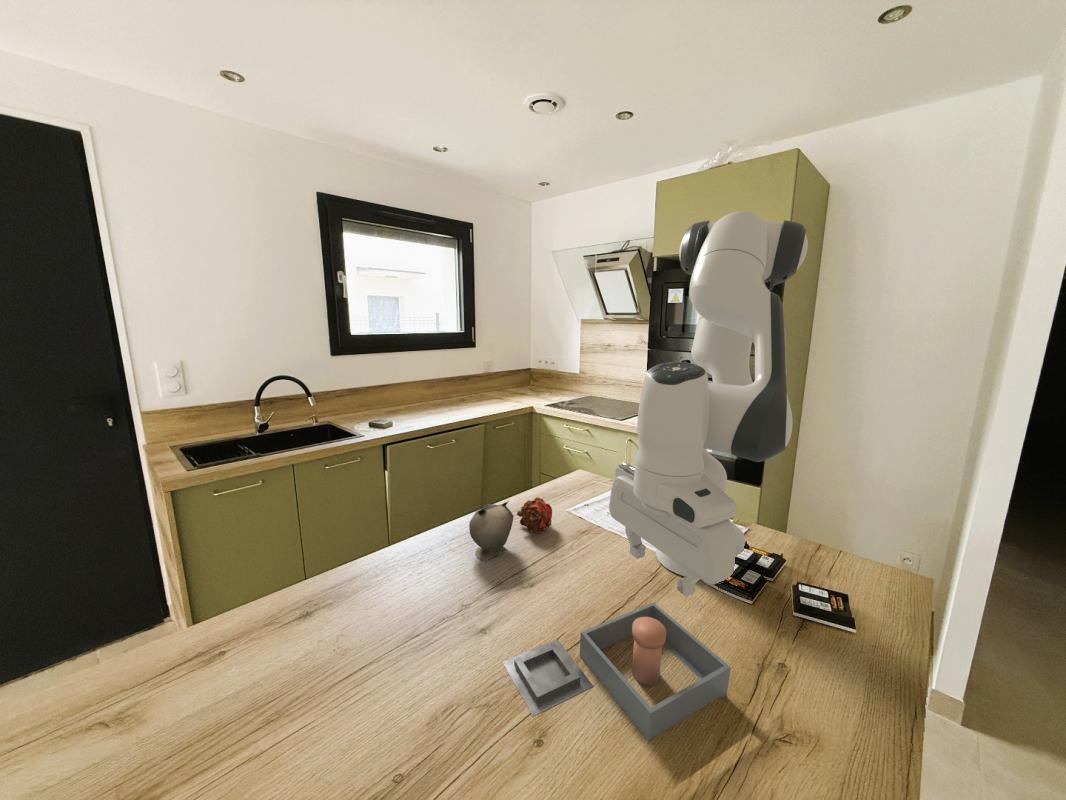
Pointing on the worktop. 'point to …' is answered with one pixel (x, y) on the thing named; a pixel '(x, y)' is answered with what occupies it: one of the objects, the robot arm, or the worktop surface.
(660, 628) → the butternut squash
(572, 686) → the socket plate
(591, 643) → the slate tray
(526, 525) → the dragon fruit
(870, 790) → the worktop surface
